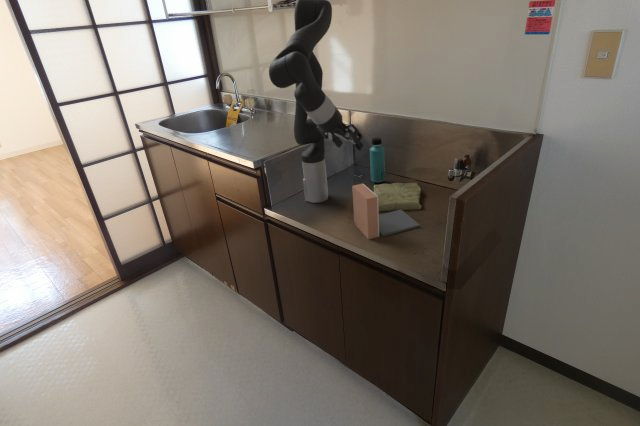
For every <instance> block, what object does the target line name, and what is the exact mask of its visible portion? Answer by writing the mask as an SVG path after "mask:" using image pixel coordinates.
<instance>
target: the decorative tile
mask: <svg viewBox="0 0 640 426" xmlns="http://www.w3.org/2000/svg"><path fill="white" fill-rule="evenodd" d="M421 190H422V188H421V187H420V185H418V183H417V182H404V183H403V182H393V183H381V184H374V185H373V192H374V193H375V194H376V195H377V196H378V208H379V212H386V211H387V212H393V211H397V210H402V211H408V210H411V211H412V210H421V209H422V205H421V204H420V199H421V193H422V191H421Z"/></svg>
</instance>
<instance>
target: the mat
mask: <svg viewBox="0 0 640 426" xmlns="http://www.w3.org/2000/svg"><path fill="white" fill-rule="evenodd" d="M417 228H420V223H418V222H417V221H416V220H415V219H413V218H412V217H411V216H410V215H409V214H407V213H406V212H405V210H392V211H388V212H384V213H381V214H379V235H381V237H387V236H389V235H395V234H397V233H402V232H404V231H408V230H412V229H417Z"/></svg>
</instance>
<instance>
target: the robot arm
mask: <svg viewBox="0 0 640 426" xmlns="http://www.w3.org/2000/svg"><path fill="white" fill-rule="evenodd" d="M293 16H294V32H293V33H292V34H291V36H290V37H289V39H288V41H287V43H286V45H285V47H284V48H283V49H282V50H281V51H280V52H279V53H278V54H277V55H276V56H275V57H274V58H273V60H272V61H271V62H270V65H269V67H268V76H269V79H270V82H271V83H272V84H273V86H275V87H277V88H278V89H286V88H288V87H291V86H293V85H295V90H294V92H293V93H294V94H293V96H294V98H295V109H294V110H295V111H294V112H295V113H294V122H293V135H294V140H295V142H296V144H298V145H299V146H306V145H310V146H309V147H308V148H306V149H305V150H304V151H303V152H302V153H301V155H300V156H301V157H300V158H301V164H302V171H303V174H302V175H303V179H302V186H303V192H304V193H303V194H304V202H309V203H312V204H317V203H323V202H325V201H327V200H328V199H329V190H328V179H327V170H326V169H327V168H326V156H325V153H326V149H325V148H326V147H325V140H330V141H331V142H333V144H334V145H335V146H336V147H337V148H341V147H342V145H343V140H344V141H345V142H348V141H349V142H350V143H351V144H353V146H354V147H355V149H356V150H357V151H362V149H363V147H364V144H363V142H362V138H363V137H364V136H363V134H362V133H361V132H360V131H359V129H358V128H357V127H356V126H355V124H353V123H351V124H350V125H347V124H345V123H344V121H343V115H342V112H340V110H339V109H338V108H337V107H336V105H335V104H334V103H333V101H332V100H331V98H329V96H328V95H326V93H325V92H324V90H322V89H323V78H324V77H323V75H324V73H323V72H324V71H323V69H322V66H321V63H320V62H319V60H318V58H317V57H316V54H315V53H314V49H315V47H316V46H317V45H318V43H319V42H320V41H321V40H322V39H323V37H325V35H326V34H327V32H328V31H329V29H330V26H331V23H332V19H333V6H332V4H331V2H330V1H329V0H296V2H295V5H294V15H293ZM308 117H309V118H308ZM346 135H347V136H346ZM341 139H342V140H341Z"/></svg>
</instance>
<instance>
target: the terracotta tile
mask: <svg viewBox="0 0 640 426" xmlns="http://www.w3.org/2000/svg"><path fill="white" fill-rule="evenodd" d="M351 187H352V189H351V190H352V205H353V221H354V222H353V223H354V225H355V226H356V227H357V228H358V230H360V232H361V233H362V234H363V235H364V237H366V238H367V240H371V239H375V238H380V233H379V215H380V213H379V212H380V211H379V208H378V196H377V195H376V194H375V193H374V191H373V190H371V189H370V188H369V187H368V186H367V185H366V184H364V183H358V184H354V185H352V186H351Z"/></svg>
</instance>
